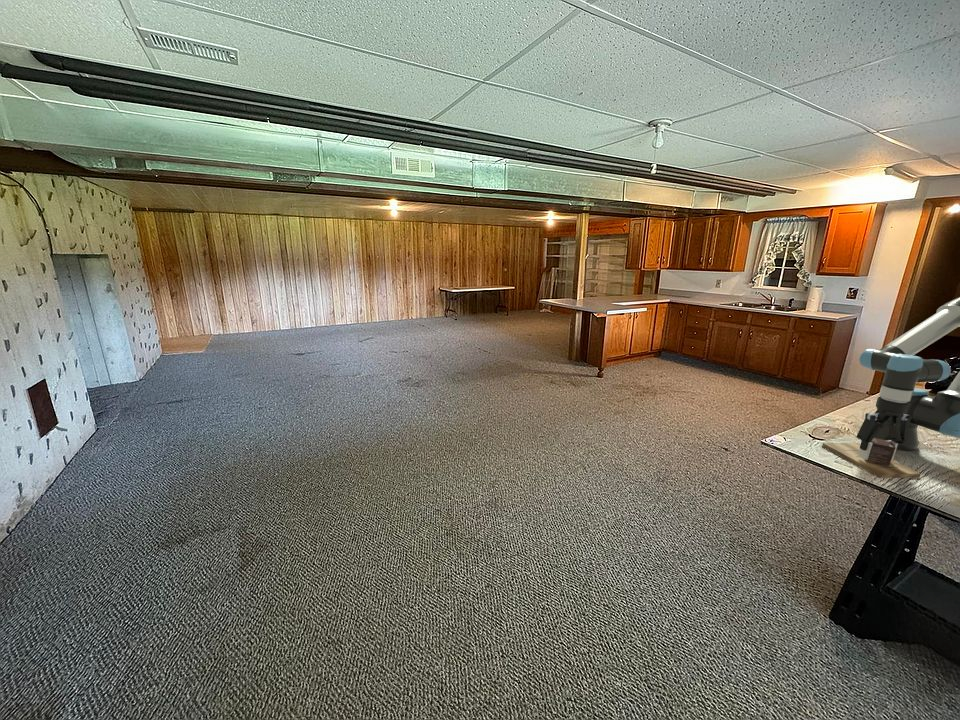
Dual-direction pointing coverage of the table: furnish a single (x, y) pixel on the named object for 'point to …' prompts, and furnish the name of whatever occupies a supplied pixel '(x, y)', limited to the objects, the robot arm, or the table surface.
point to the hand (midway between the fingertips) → (875, 458)
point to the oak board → (879, 470)
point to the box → (881, 451)
